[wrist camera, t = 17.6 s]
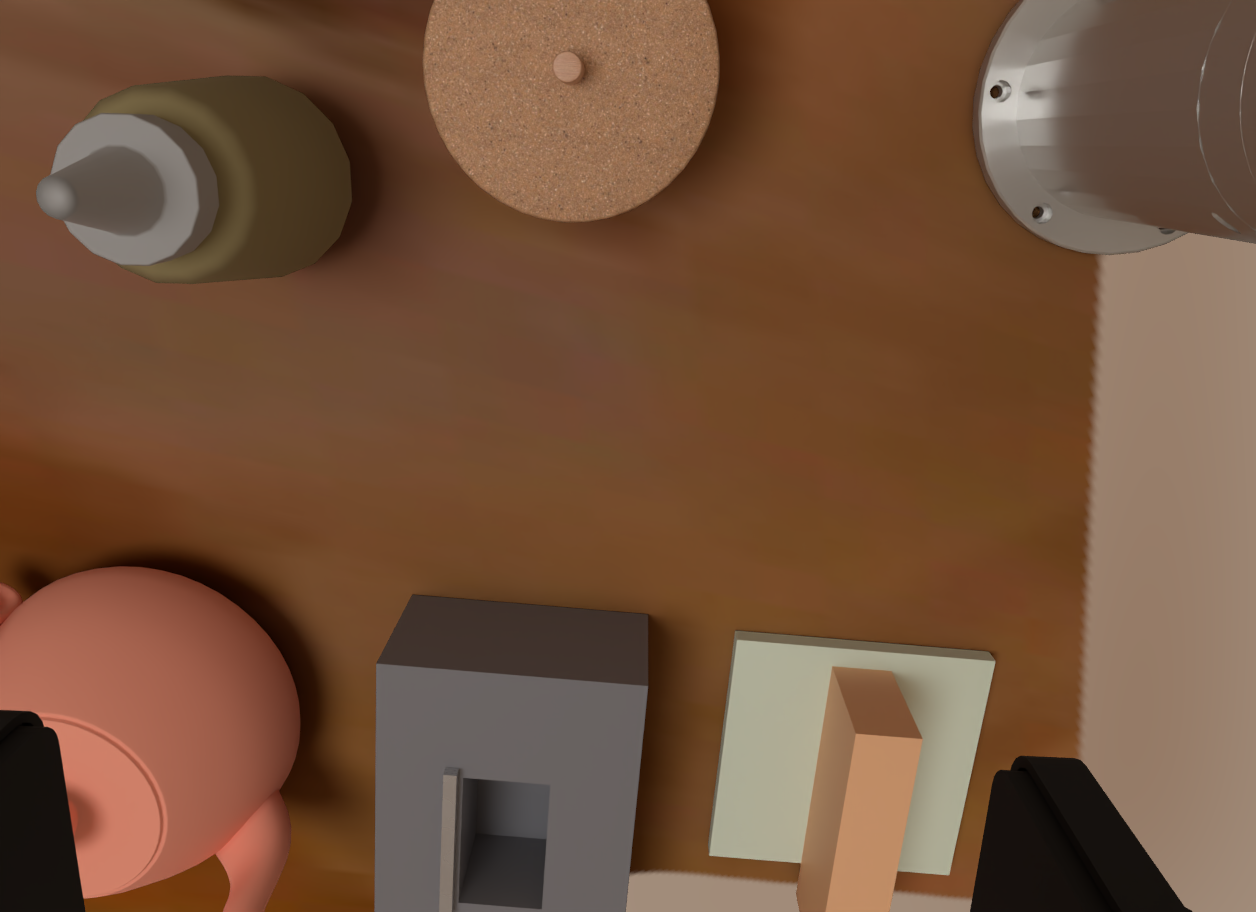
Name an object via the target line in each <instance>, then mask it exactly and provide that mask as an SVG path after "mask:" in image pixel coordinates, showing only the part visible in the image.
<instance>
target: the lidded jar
mask: <svg viewBox="0 0 1256 912" xmlns="http://www.w3.org/2000/svg"><path fill="white" fill-rule="evenodd" d="M422 61H423V75H424V86H425V91H426V96H427V100H428V105H429V109H430V112H431V115H432V117H433V120H434V123H435V125H436V128H437V130H438V133H439V135H440V136H441V138H442V140H443V142H444V144H445V146H446V147H447V149H448V151H449V153H450V154H451V156H452V157H453V158H454V159H455V161H456V162H457V163H458V165H459V166H460V167H461V169H462V170H463V171H464V173H466V174H467V175H468V176H469V177H470V178H471V179H472V180H473V181H474V182H475V183H476V184H477V185H478V186H479V187H480V188H481V189H482V190H484V191H485V192H487V193H488V194H489V195H491V196H492V197H494V198H495V199H496V200H498V201H499V202H501V203H503V204H505V205H507V206H509V207H511V208H513V209H515V210H517V211H519V212H521V213H524V214H527V215H530V216H534V217H537V218H540V219H544V220H551V221H558V222H591V221H596V220H602V219H608V218H611V217H614V216H617V215H620V214H622V213H625V212H628V211H631V210H632V209H634V208H636V207H638V206H640V205H642V204H644V203H645V202H647V201H649V200H651V199H652V198H653V197H654V196H656V195H657V194H658V193H660V192H661V191H662V190H664V189H665V188H666V187H668V186H669V185H670V183H671V182H672V181H673V180H674V179H675V178H676V177H677V176H678V175H679V174H680V173H681V172H682V171H683V170H684V169H685V167H686V166H687V164H688V163H689V161H690V160H691V158H692V157H693V156H694V154H695V153H696V151H697V150H698V148H699V146H700V144H701V142H702V140H703V138H704V136H705V134H706V132H707V129H708V127H709V124H710V121H711V118H712V114H713V111H714V108H715V105H716V99H717V92H718V86H719V75H720V54H719V46H718V39H717V31H716V27H715V24H714V21H713V17H712V14H711V10H710V7H709V4H708V2H707V0H434V2H433V4H432V7H431V9H430V13H429V17H428V22H427V26H426V30H425V35H424V47H423V60H422Z"/></svg>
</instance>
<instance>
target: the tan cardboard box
mask: <svg viewBox="0 0 1256 912" xmlns="http://www.w3.org/2000/svg"><path fill="white" fill-rule="evenodd" d="M922 741H923V738H922V736H921V734H920V732H919V730H918V727H917V725H916V723H915V721H914V719H913V717H912V714H911V712H910V710H909V708H908V706H907V704H906V701H905V699H904V697H903V695H902V693H901V691H900V688H899V686H898V684H897V682H896V680H895V677H894V675H893V673H892V671H885V670H873V669H860V668H848V667H835V666H832V671H831V677H830V683H829V690H828V696H827V702H826V708H825V715H824V721H823V727H822V734H821V740H820V746H819V753H818V759H817V765H816V772H815V778H814V784H813V790H812V797H811V803H810V809H809V816H808V822H807V828H806V835H805V841H804V847H803V854H802V860H801V866H800V872H799V879H798V885H797V891H796V895H797V901H798V906H799V911H800V912H889V911H890V906H891V900H892V896H893V890H894V885H895V880H896V875H897V870H898V865H899V860H900V854H901V849H902V844H903V839H904V834H905V829H906V823H907V818H908V813H909V808H910V803H911V798H912V793H913V787H914V782H915V777H916V772H917V767H918V762H919V757H920V751H921V746H922Z"/></svg>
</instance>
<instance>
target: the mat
mask: <svg viewBox="0 0 1256 912" xmlns="http://www.w3.org/2000/svg"><path fill="white" fill-rule="evenodd" d="M832 666H835V667H848V668H860V669H873V670H885V671H892V673H893V675H894V677H895V680H896V682H897V684H898V686H899V688H900V691H901V693H902V695H903V697H904V699H905V701H906V704H907V706H908V708H909V710H910V712H911V714H912V717H913V719H914V721H915V723H916V725H917V727H918V730H919V732H920V734H921V736H922V738H923V741H922V746H921V751H920V757H919V762H918V767H917V772H916V777H915V782H914V787H913V793H912V798H911V803H910V808H909V813H908V818H907V823H906V829H905V834H904V839H903V844H902V849H901V854H900V860H899V865H898V870H897V871H904V872H916V873H928V874H941V875H949V873H950V868H951V864H952V859H953V855H954V850H955V845H956V841H957V836H958V832H959V827H960V822H961V818H962V813H963V809H964V804H965V799H966V795H967V790H968V786H969V781H970V776H971V772H972V767H973V763H974V758H975V753H976V749H977V744H978V740H979V735H980V730H981V726H982V721H983V717H984V712H985V707H986V703H987V698H988V694H989V689H990V684H991V680H992V675H993V671H994V666H995V660H994V658H993V657H992V655H991V654H990V652H987V651H975V650H963V649H951V648H939V647H927V646H915V645H903V644H891V643H879V642H867V641H855V640H843V639H831V638H819V637H807V636H795V635H783V634H771V633H759V632H747V631H735V637H734V645H733V653H732V660H731V668H730V676H729V684H728V692H727V700H726V707H725V715H724V723H723V731H722V739H721V747H720V754H719V762H718V770H717V778H716V786H715V794H714V802H713V809H712V817H711V825H710V833H709V841H708V847H709V856H720V857H733V858H745V859H757V860H769V861H782V862H794V863H801V860H802V854H803V847H804V841H805V835H806V828H807V822H808V816H809V809H810V803H811V797H812V790H813V784H814V778H815V772H816V765H817V759H818V753H819V746H820V740H821V734H822V727H823V721H824V715H825V708H826V702H827V696H828V690H829V683H830V677H831V671H832Z"/></svg>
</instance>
